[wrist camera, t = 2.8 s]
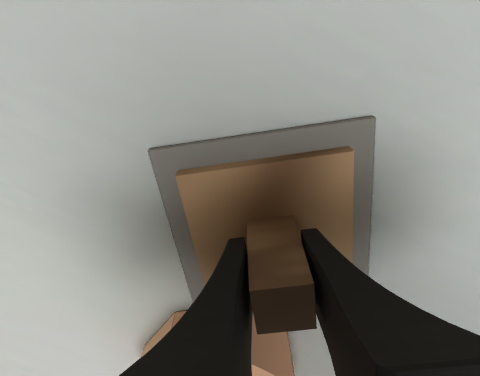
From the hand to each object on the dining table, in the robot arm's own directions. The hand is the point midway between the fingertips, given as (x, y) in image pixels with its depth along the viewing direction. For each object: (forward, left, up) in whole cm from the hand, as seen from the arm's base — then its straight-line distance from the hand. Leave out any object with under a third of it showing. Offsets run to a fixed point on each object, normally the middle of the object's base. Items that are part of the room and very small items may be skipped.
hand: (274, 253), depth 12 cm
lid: (0, 0, -2) cm, 2 cm away
